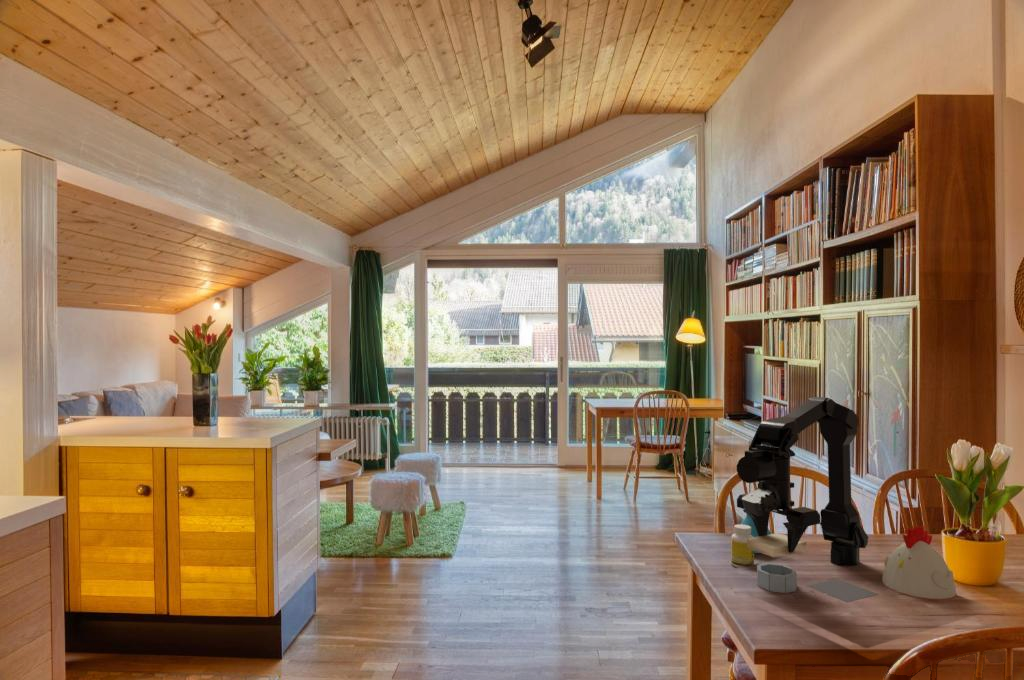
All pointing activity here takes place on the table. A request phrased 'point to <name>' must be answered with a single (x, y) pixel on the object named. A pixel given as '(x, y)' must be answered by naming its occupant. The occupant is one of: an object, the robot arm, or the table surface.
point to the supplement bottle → (741, 547)
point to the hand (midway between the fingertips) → (776, 547)
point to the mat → (842, 590)
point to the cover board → (774, 545)
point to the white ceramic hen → (918, 568)
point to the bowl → (776, 577)
